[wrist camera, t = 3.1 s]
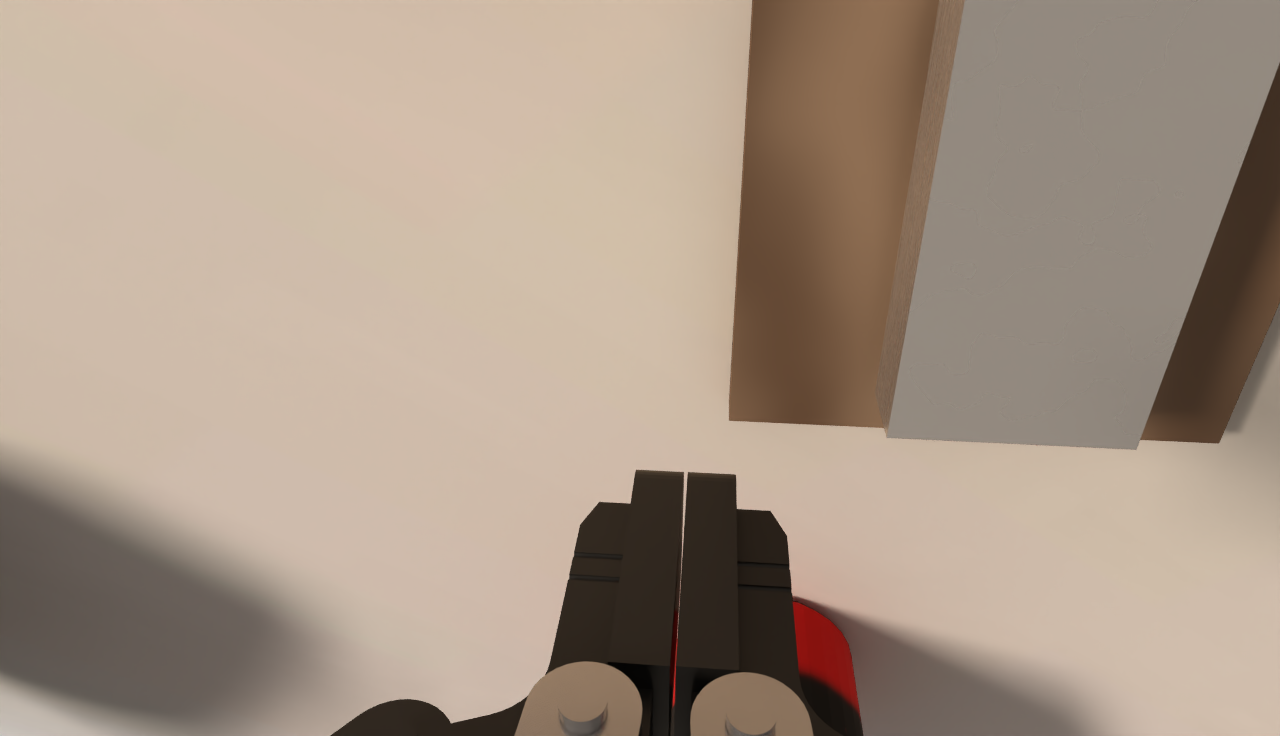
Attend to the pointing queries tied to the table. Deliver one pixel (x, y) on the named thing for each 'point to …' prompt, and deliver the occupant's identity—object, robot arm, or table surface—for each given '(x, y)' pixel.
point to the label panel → (873, 217)
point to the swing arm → (1064, 211)
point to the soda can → (823, 672)
